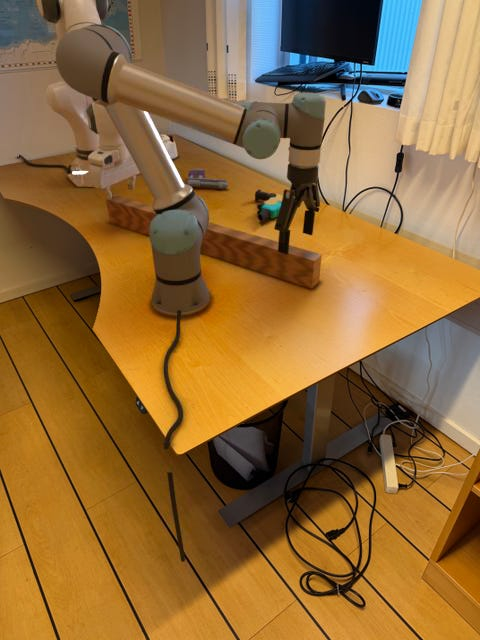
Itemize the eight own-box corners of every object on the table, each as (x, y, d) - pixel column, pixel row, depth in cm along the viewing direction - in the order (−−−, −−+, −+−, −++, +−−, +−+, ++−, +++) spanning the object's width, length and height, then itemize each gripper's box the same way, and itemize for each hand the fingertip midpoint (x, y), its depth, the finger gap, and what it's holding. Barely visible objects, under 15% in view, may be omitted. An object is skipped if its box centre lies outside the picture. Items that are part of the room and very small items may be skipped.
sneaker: (133, 173, 208) (129, 144, 201) (161, 153, 230) (158, 127, 223) (155, 175, 205) (151, 146, 198) (180, 155, 227) (178, 129, 220)
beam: (319, 282, 133) (321, 254, 128) (311, 289, 130) (314, 261, 125) (119, 218, 170) (115, 195, 164) (110, 222, 167) (105, 199, 162)
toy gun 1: (234, 179, 200) (226, 192, 189) (191, 176, 204) (181, 189, 192) (234, 170, 198) (226, 182, 186) (191, 167, 201) (180, 179, 189)
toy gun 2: (232, 207, 164) (271, 215, 159) (264, 184, 183) (300, 190, 177) (232, 219, 167) (271, 227, 161) (263, 195, 186) (299, 202, 180)
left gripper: (131, 141, 159) (136, 181, 167) (83, 158, 145) (91, 201, 154) (145, 144, 156) (149, 185, 164) (97, 162, 142) (105, 205, 151)
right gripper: (313, 148, 125) (305, 223, 138) (263, 174, 108) (259, 256, 121) (339, 154, 122) (328, 230, 134) (291, 181, 105) (284, 265, 118)
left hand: (121, 193), depth 159 cm, fingers open, 8 cm apart
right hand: (295, 242), depth 128 cm, fingers open, 13 cm apart
